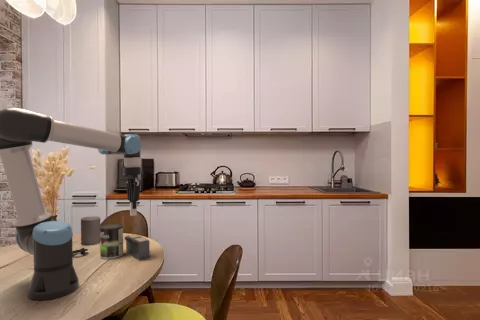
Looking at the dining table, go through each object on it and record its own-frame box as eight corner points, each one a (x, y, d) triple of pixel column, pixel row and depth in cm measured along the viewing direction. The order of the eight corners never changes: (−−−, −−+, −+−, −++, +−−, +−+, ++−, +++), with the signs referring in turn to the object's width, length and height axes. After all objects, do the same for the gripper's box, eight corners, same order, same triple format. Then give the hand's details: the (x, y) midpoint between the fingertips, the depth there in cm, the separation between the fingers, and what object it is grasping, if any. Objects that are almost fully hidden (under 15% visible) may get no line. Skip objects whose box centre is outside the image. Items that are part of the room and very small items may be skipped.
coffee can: (109, 260, 136) (108, 229, 135) (95, 256, 141) (94, 227, 141) (128, 253, 144) (127, 224, 144) (114, 250, 150) (114, 222, 149)
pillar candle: (76, 244, 161) (76, 216, 161) (90, 239, 170) (90, 213, 170) (91, 246, 158) (91, 218, 158) (104, 241, 167) (104, 214, 167)
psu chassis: (137, 260, 135) (137, 242, 135) (125, 252, 146) (124, 235, 146) (149, 257, 139) (149, 239, 138) (136, 250, 150) (136, 233, 150)
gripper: (145, 166, 142) (146, 216, 143) (134, 166, 152) (135, 212, 152) (130, 167, 137) (131, 218, 138) (119, 166, 147) (120, 214, 147)
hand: (133, 215), depth 145 cm, fingers closed
